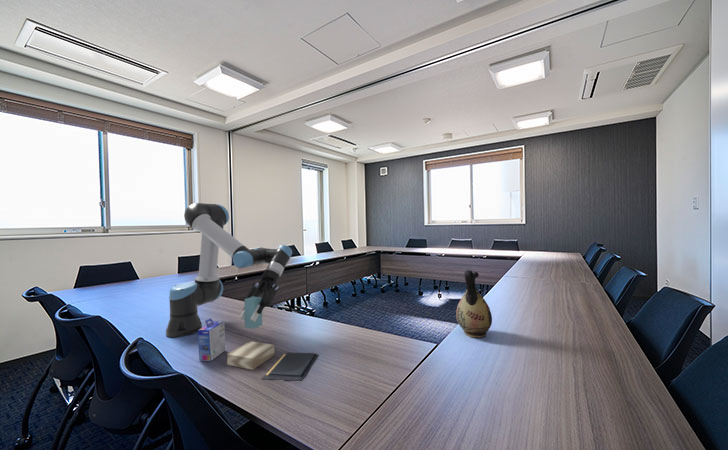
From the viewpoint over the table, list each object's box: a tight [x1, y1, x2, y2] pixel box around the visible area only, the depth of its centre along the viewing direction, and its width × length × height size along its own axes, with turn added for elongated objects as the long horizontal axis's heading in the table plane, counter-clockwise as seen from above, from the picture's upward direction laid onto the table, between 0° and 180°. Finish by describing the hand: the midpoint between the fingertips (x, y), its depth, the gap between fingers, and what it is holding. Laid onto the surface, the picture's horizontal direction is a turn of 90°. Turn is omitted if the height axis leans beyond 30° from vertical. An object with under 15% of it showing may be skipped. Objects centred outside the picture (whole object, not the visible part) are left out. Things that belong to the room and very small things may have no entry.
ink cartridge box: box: [197, 318, 227, 362], centre depth 113 cm, size 10×6×14 cm, turn 174°
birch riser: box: [226, 340, 275, 370], centre depth 108 cm, size 12×12×4 cm
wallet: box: [261, 351, 320, 382], centre depth 103 cm, size 20×2×15 cm
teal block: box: [244, 296, 263, 330], centre depth 120 cm, size 5×5×12 cm
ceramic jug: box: [455, 269, 493, 338], centre depth 128 cm, size 17×15×30 cm
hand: (247, 319), depth 117 cm, fingers closed on teal block, 5 cm apart
